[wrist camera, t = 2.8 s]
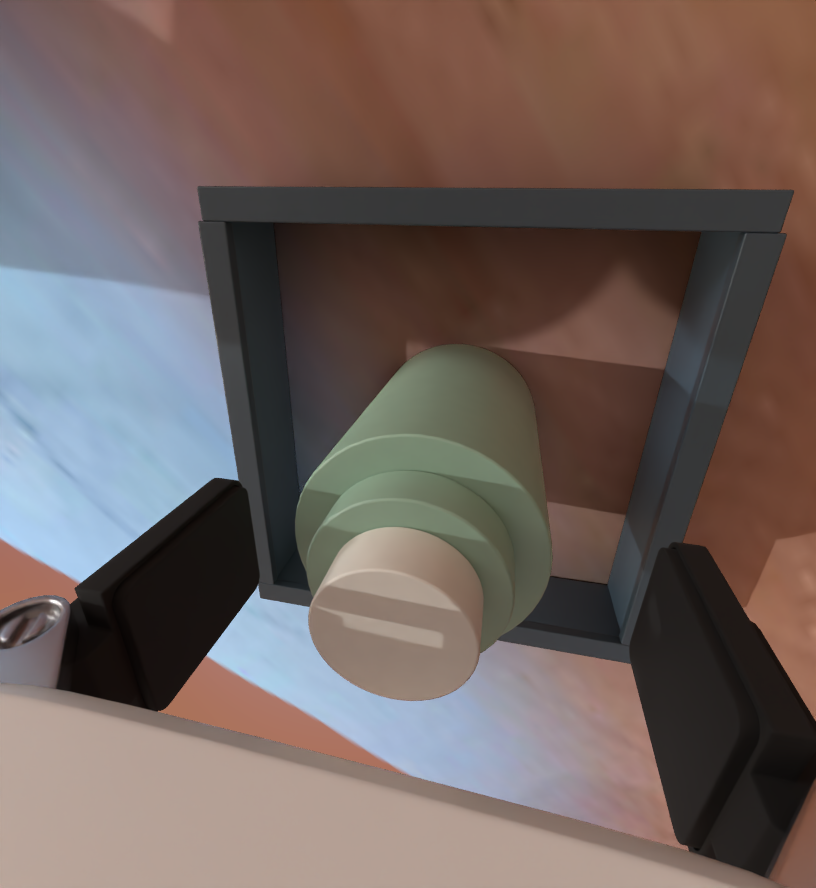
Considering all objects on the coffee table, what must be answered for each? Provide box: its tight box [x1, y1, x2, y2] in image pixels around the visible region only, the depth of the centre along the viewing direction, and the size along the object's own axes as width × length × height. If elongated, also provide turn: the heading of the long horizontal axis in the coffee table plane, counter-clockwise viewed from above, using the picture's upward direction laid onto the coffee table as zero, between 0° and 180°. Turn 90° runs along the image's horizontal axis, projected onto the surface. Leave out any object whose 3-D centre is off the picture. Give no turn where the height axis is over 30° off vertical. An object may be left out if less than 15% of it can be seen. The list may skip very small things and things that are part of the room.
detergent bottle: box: [295, 344, 553, 701], centre depth 13 cm, size 6×6×11 cm
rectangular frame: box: [197, 186, 794, 664], centre depth 17 cm, size 16×16×3 cm
